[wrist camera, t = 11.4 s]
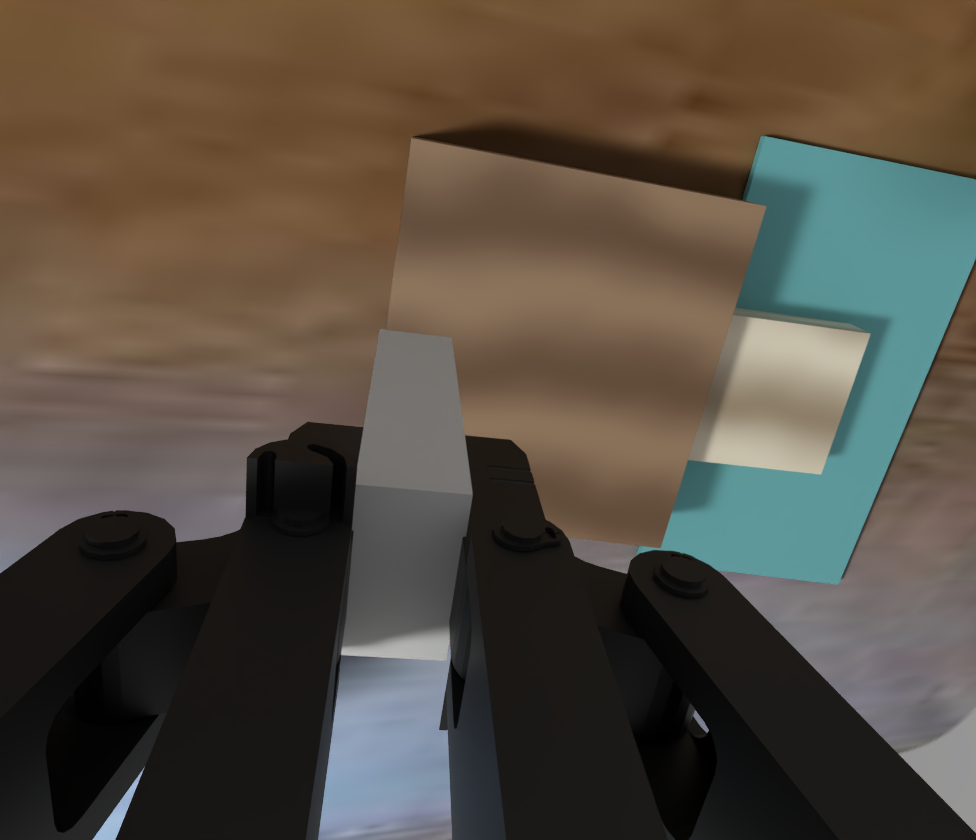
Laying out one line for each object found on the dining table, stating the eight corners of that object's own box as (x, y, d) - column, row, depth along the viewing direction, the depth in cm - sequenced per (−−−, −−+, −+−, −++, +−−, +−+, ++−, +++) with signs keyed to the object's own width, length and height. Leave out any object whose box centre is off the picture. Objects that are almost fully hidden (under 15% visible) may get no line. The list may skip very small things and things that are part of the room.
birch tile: (707, 304, 38) (721, 313, 36) (849, 323, 39) (870, 333, 37) (670, 443, 41) (681, 459, 39) (803, 458, 42) (821, 474, 40)
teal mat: (761, 136, 35) (765, 136, 35) (999, 184, 37) (1006, 185, 37) (636, 555, 44) (638, 560, 44) (834, 579, 46) (838, 584, 45)
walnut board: (413, 136, 34) (411, 138, 31) (732, 197, 36) (766, 206, 33) (367, 476, 41) (361, 511, 37) (641, 511, 43) (660, 548, 39)
